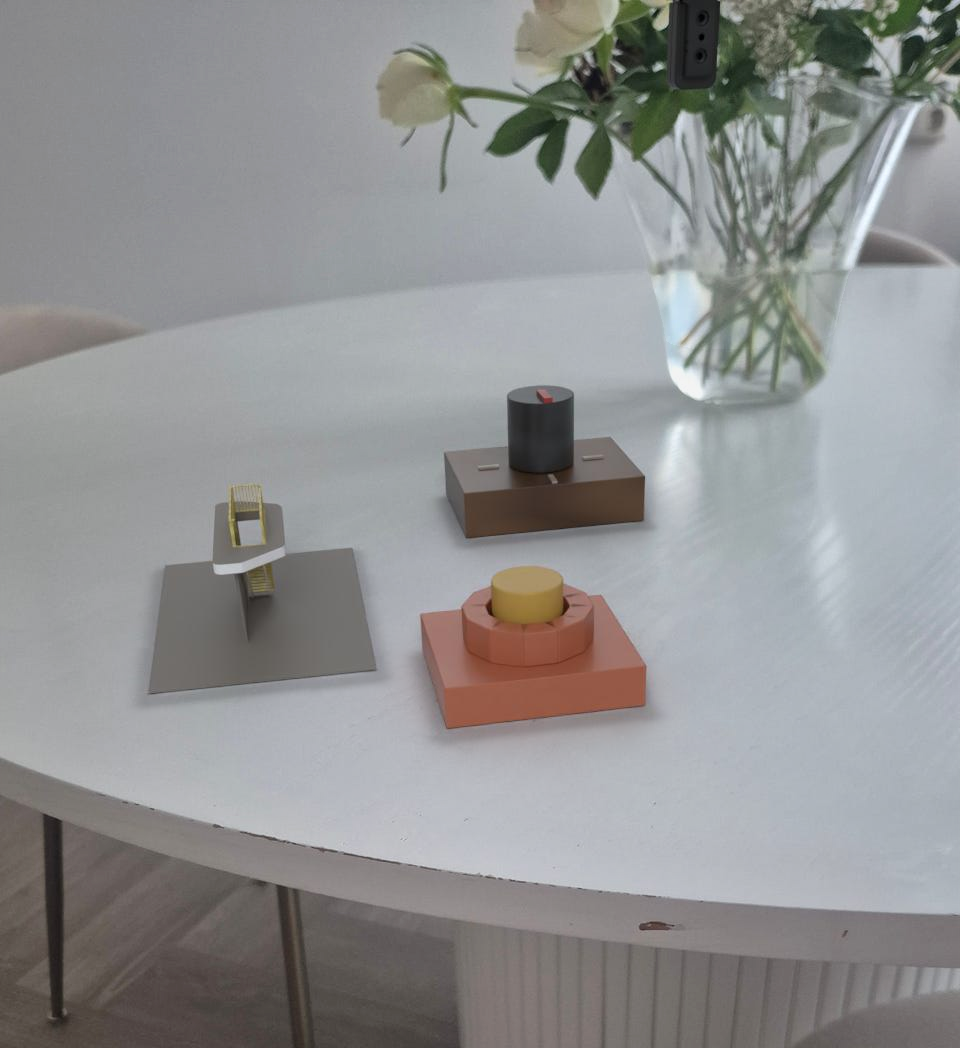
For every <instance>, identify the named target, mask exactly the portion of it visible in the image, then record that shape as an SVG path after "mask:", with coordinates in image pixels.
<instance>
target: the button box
mask: <svg viewBox="0 0 960 1048" xmlns="http://www.w3.org/2000/svg"><path fill="white" fill-rule="evenodd" d="M606 601H607V600H605V598H604V596H603V595H602V594H593V595H588V593H587V592H585V591H583V590H581V589H578V588H576V587H574V586H571V585H569V584H566V583H564V582H563V613H562V614H561V616H560V617H557V618H555V619H552V620H550V621H547V622H538V623H528V624H524V623H516V622H507V621H502V620H499V619H497V618H495V617H494V616H493V614H492V599H491V585H489V586H487V587H484V588H482V589H479V590H476V591H473V592H472V593H471V594H470V596H468V598H467V599H466V600H465V601H464V602H463V603H462V604H461V608H460V609H450V610H440V611H432V612H422V613H420V614H419V618H420V632H421V646H422V653H423V656H424V658H425V661H426V665H427V669H428V672H429V676H430V678H431V682H432V685H433V688H434V691H435V695H436V698H437V701H438V705H439V709H440V710H441V715H442V718H443V721H444V724H445V727H446V729H454V728H462V727H472V726H479V725H489V724H496V723H505V722H515V721H522V720H533V719H540V718H547V717H549V718H550V717H557V716H565V715H574V714H582V713H592V712H601V711H607V710H616V709H625V708H626V709H627V708H634V707H635V708H636V707H642V706H643V707H644V706H646V692H647V691H646V689H647V668H648V667H647V664H646V663H645V661H644V659H643V658H642V657H641V655H640V653H639V651H638V650H637V649H636V647H635V645H634V644H633V643H632V641H631V639H630V638H629V636H628V634H627V633H626V632H625V629H624V628H623V626H622V625H621V623H620V621H619V620H618V619H617V617H616V615H615V614H614V612H613V611H612V609H611V607H610V606H609V604H608V603H607V602H606Z"/></svg>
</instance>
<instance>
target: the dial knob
mask: <svg viewBox="0 0 960 1048" xmlns="http://www.w3.org/2000/svg"><path fill="white" fill-rule="evenodd" d="M506 412H507V413H506V415H507V417H506V418H507V421H506V422H507V446H508V460H509V465H510V467H512V468H513V469H516V470H519V471H523V472H531V473H547V472H555V471H559V470H563V469H566V468H568V467H570V466H571V465H572V464H573V462H574V440H575V392H574V391H573V390H572V389H570V388H567V387H564V386H559V385H558V386H557V385H549V384H547V385H544V384H543V385H542V384H540V385H528V386H523V387H519V388H515V389H513V390H510V391H509V392H508V393H507V394H506Z"/></svg>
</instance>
